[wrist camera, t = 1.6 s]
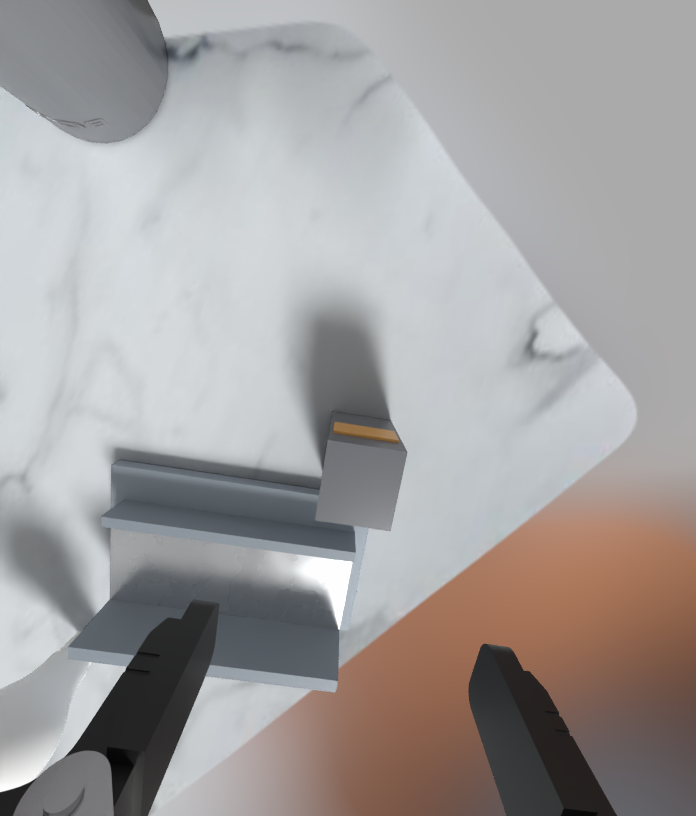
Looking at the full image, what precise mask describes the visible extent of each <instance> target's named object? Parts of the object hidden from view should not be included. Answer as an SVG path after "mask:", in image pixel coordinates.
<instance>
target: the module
mask: <svg viewBox="0 0 696 816" xmlns="http://www.w3.org/2000/svg"><path fill="white" fill-rule="evenodd" d="M406 456H407V451H406V449H405V447H404V445H403V443H402V441H401V439H400V437H399V435H398V433H397V431H396V429H395V428H394V426H393V424H392V422H391V420H385V419H379V418H372V417H366V416H360V415H353V414H347V413H341V412H334V411H333V412H332V417H331V423H330V429H329V435H328V441H327V447H326V454H325V460H324V466H323V473H322V479H321V485H320V492H319V498H318V504H317V511H316V517H315V520H316V521H323V522H330V523H337V524H344V525H351V526H358V527H365V528H372V529H379V530H386V531H391V526H392V521H393V517H394V512H395V507H396V503H397V498H398V493H399V489H400V484H401V479H402V474H403V470H404V465H405V460H406Z"/></svg>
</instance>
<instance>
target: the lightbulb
mask: <svg viewBox="0 0 696 816" xmlns="http://www.w3.org/2000/svg"><path fill="white" fill-rule="evenodd" d="M81 632H82V631H80V632H78V633H77V634H76V635H75V636H74V637H72V638H71V639H70V640H69V642H67V643H66V644H65V646H63V647H62V648H61V649H60V651H57V652H55V653H54V654H52V655H51V656H50V657H49V658H48V659H47V660H46V661H45V662H44V663H43V664H42V665H41V666H39V667H38V668H37V669H36V670H34V671H33V672H32V673H30V674H29V675H27V676H26V677H24V678H23V679H20V680H18V681H16V682H14V683H12V684H10V685H8V686H6V687H4V688H2V689H1V690H0V792H3V791H6V790H10V789H14V788H17V787H20V786H22V785H25V784H27V783H29V782H31V781H32V780H33V779H34V778H35V777H36V776H37V775H38V774H39V773H40V772H41V771H42V770H43V768H44V767H45V766H46V764H47V763H48V761H49V760H50V758H51V757H52V755H53V754H54V752H55V750H56V748H57V746H58V744H59V742H60V740H61V736H62V733H63V730H64V726H65V723H66V719H67V715H68V710H69V706H70V703H71V701H72V698H73V695H74V693H75V692H76V690H77V688H78V686H79V684H80V683H81V681H82V680H83V679H84V677H85V675H86V674H87V671H88V667H89V665H90V664H91V663H92V662H87V661H79V660H70V659H68V646H69V645H70V644H71V643H72V642H73V641H74V639H75V638H76V637H77V636H78V635H79V634H80V633H81Z"/></svg>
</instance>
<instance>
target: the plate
mask: <svg viewBox="0 0 696 816" xmlns="http://www.w3.org/2000/svg"><path fill="white" fill-rule="evenodd" d="M351 565H352V562H347V561H340V560H333V559H326V558H319V557H312V556H305V555H297V554H290V553H283V552H276V551H269V550H262V549H255V548H248V547H240V546H233V545H226V544H219V543H212V542H205V541H198V540H191V539H183V538H176V537H169V536H162V535H155V534H148V533H141V532H134V531H126V530H119V529H112V528H111V532H110V600H116V601H124V602H131V603H139V604H147V605H154V606H162V607H169V608H177V609H184V610H187V608H188V606H189V604H190V603H191V601H192V600H194V599H196V600H202V601H209V602H216V603H219V614H222V615H230V616H238V617H245V618H253V619H260V620H268V621H275V622H283V623H291V624H298V625H306V626H313V627H321V628H329V629H336V630H339V628H340V623H341V618H342V612H343V607H344V602H345V597H346V591H347V586H348V581H349V576H350V570H351Z"/></svg>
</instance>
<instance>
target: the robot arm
mask: <svg viewBox="0 0 696 816" xmlns="http://www.w3.org/2000/svg"><path fill="white" fill-rule="evenodd" d="M167 65H168V59H167V53H166V46H165V40H164V37H163V34H162V31H161V28H160V25H159V22H158V20H157V18H156V16H155V14H154V12H153V10H152V9H151V7H150V5H149V3H148V0H0V86H1V87H2V88H4V89H5V90H6V91H8V92H9V93H11V94H12V95H13V96H15V97H16V98H18V99H19V100H20V101H22V102H23V103H25V105H26V106H27V107H29V108H30V109H32V110H33V111H34V112H36V113H37V114H39V115H40V116H42V117H44V118H45V119H47V120H48V121H50V122H51V123H53V124H54V125H55V126H57V127H58V128H60V129H61V130H63V131H65V132H67V133H68V134H70V135H72V136H74V137H76V138H79V139H82V140H86V141H89V142H96V143H111V142H116V141H122V140H124V139H126V138H128V137H130V136H133V135H135V134H136V133H137V132H138V131H140V130H141V129H142V128H143V127H145V126H146V125H147V124H148V122H149V121H150V120H151V118H152V117H153V116H154V114H155V113H156V112H157V109H158V107H159V105H160V103H161V100H162V98H163V95H164V91H165V86H166V82H167ZM218 615H219V603H216V602H209V601H202V600H196V599H194V600H192V601H191V603H190V604H189V606H188V608H187V610H186V611H185V613H184V615H183V616H182V618H181V619H176V618H169V617H168V618H166V619H165V620H164V621H163V622H162V623H160V624H159V625H158V626H157V627H156V628H154V629H153V630H152V631H151V632H150V633H149V634H148V636H147V637H146V639H145V640H144V642H143V643H142V645H141V646H140V648H139V649H138V651H137V654H136V656H134V657H133V659H132V660H131V662H130V663H129V665H128V666H127V668H126V671H125V672H123V674H122V675H121V677H120V678H119V680H118V681H117V683H116V684H115V686H114V687H113V689H112V690H111V692H110V693H109V695H108V696H107V698H106V700H105V701H104V703H103V704H102V706H101V707H100V709H99V710H98V712H97V713H96V715H95V716H94V718H93V719H92V721H91V722H90V724H89V725H88V727H87V728H86V730H85V731H84V733H83V734H82V736H81V737H80V739H79V740H78V742H77V743H76V744H75V746H74V747H73V748H72V750H71V751H70V752H69V753H68V754H67V755H66V756H65V757H64V758H63V759H61V760H59V761H57V762H56V763H54V764H53V765H52V766H50V767H49V768H48V769H47V770H45V771H44V772H43V773H42V774H41V775H40V776H39V777H38V778H36V779H35V780H33V781H31V782H29V783H27V784H25V785H22V786H20V787H17V788H14V789H10V790H6V791H3V792H0V816H148V814H149V811H150V809H151V807H152V804H153V802H154V799H155V797H156V795H157V792H158V790H159V787H160V785H161V782H162V780H163V778H164V775H165V773H166V770H167V768H168V765H169V763H170V761H171V758H172V756H173V753H174V751H175V748H176V746H177V744H178V741H179V739H180V736H181V734H182V732H183V729H184V727H185V724H186V722H187V719H188V717H189V715H190V712H191V710H192V707H193V705H194V702H195V700H196V698H197V695H198V693H199V690H200V688H201V686H202V683H203V681H204V678H205V676H206V673H207V671H208V668H209V666H210V662H211V659H212V656H213V652H214V647H215V641H216V632H217V624H218ZM469 702H470V706H471V710H472V713H473V716H474V719H475V722H476V725H477V728H478V731H479V734H480V737H481V740H482V743H483V746H484V749H485V752H486V755H487V758H488V761H489V764H490V767H491V770H492V773H493V776H494V779H495V782H496V785H497V788H498V791H499V794H500V797H501V800H502V803H503V806H504V810H505V813H506V816H617V815H616V813H615V812H614V810H613V808H612V807H611V805H610V803H609V801H608V799H607V798H606V796H605V794H604V792H603V790H602V789H601V787H600V785H599V783H598V781H597V780H596V778H595V776H594V774H593V772H592V771H591V769H590V767H589V766H588V764H587V762H586V760H585V758H584V756H583V755H582V753H581V751H580V749H579V748H578V746H577V744H576V742H575V741H574V739H573V737H572V736H570V734H569V730H568V728H567V726H566V725H565V723H564V721H563V719H562V718H561V717H560V716H559V712H558V710H557V708H556V707H555V705H554V703H553V701H552V699H551V698H550V696H549V694H548V692H547V691H546V690H545V689H544V687H543V686H542V685H541V684H540V683H539V682H538V680H537V679H536V678H535V677H534V676H533V675H532V674H531V673H530V672H529V671H523V669H522V667H521V665H520V663H519V661H518V659H517V657H516V655H515V654H514V652H513V651H512V649H510V648H509V647H503V646H496V645H490V644H483V645H482V646H481V648H480V651H479V654H478V657H477V660H476V663H475V666H474V669H473V672H472V676H471V679H470V682H469Z"/></svg>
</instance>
